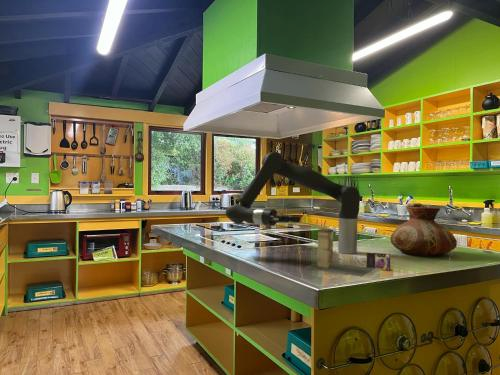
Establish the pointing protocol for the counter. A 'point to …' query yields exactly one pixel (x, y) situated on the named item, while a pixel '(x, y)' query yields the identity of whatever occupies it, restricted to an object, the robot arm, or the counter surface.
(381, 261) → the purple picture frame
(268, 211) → the robot arm
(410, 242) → the brown clay pot
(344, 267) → the rubber mat
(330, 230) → the beech block
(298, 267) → the counter surface
